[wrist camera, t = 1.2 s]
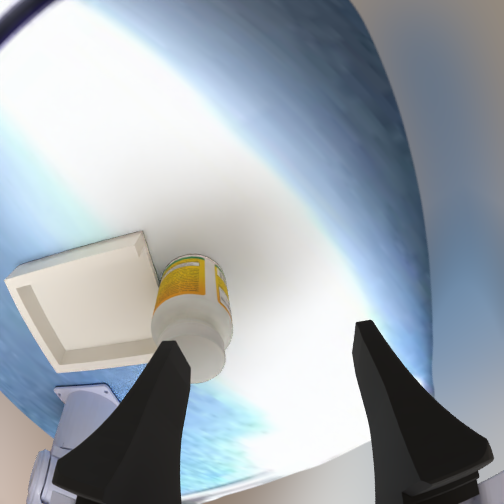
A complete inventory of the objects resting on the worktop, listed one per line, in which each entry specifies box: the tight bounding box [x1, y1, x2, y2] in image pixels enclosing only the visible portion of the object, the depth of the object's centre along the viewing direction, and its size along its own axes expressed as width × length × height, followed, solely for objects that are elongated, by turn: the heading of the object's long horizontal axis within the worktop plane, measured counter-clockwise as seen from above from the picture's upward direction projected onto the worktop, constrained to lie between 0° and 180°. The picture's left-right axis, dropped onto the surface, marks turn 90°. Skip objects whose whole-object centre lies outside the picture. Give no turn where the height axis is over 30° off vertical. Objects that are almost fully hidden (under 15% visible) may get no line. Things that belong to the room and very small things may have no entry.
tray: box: [4, 231, 160, 373], centre depth 23 cm, size 11×13×3 cm
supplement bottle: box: [151, 255, 233, 384], centre depth 21 cm, size 5×5×10 cm
